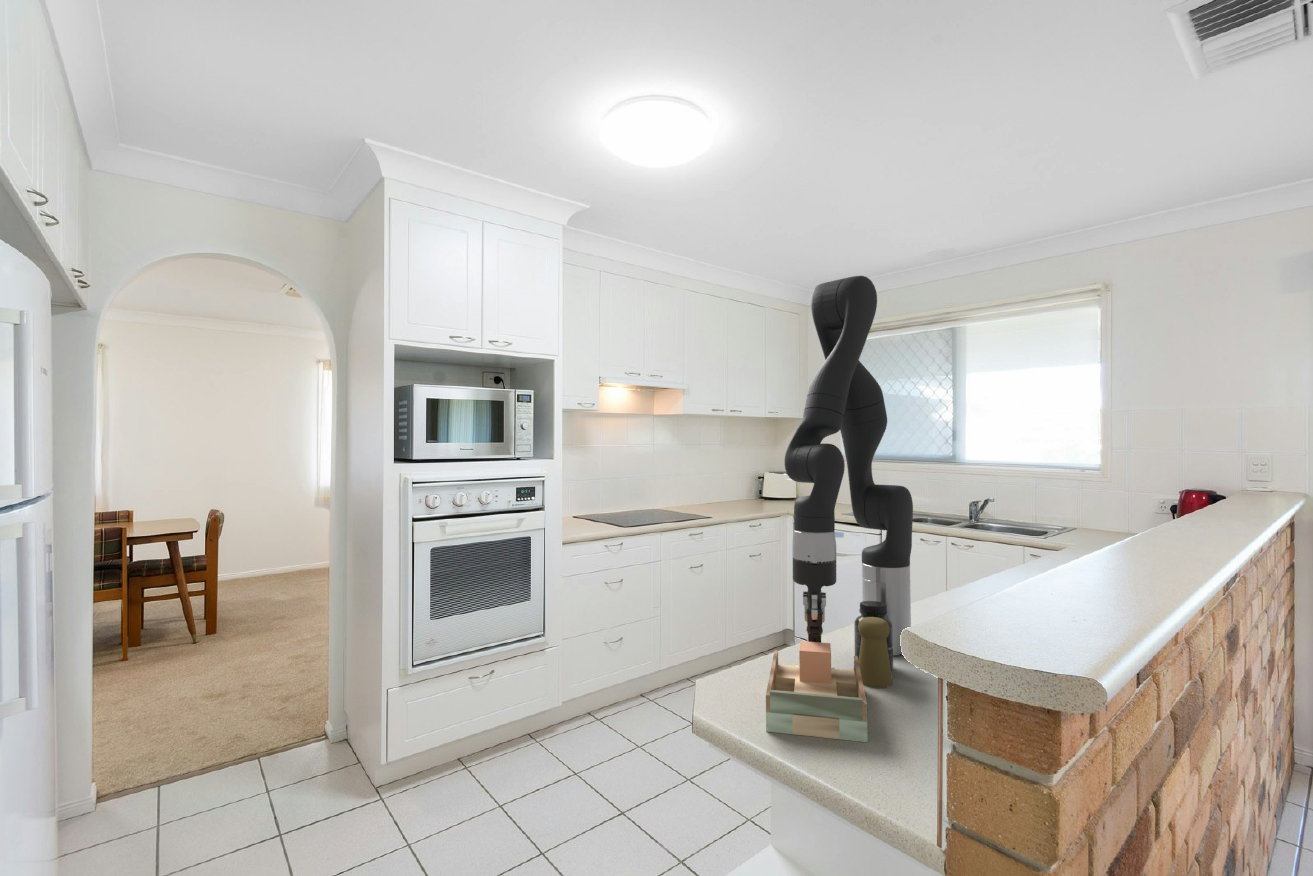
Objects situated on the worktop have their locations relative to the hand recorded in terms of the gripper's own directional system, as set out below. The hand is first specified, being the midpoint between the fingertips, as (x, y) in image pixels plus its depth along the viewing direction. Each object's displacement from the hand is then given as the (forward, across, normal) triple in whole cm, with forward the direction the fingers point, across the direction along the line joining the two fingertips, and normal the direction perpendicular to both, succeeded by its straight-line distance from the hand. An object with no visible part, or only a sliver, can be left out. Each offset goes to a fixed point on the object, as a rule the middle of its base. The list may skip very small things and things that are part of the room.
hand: (814, 654), depth 109 cm
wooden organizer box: (+5, +11, 0) cm, 12 cm away
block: (+2, +6, 0) cm, 7 cm away
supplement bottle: (+5, -9, +11) cm, 15 cm away
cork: (+5, -2, +10) cm, 11 cm away
